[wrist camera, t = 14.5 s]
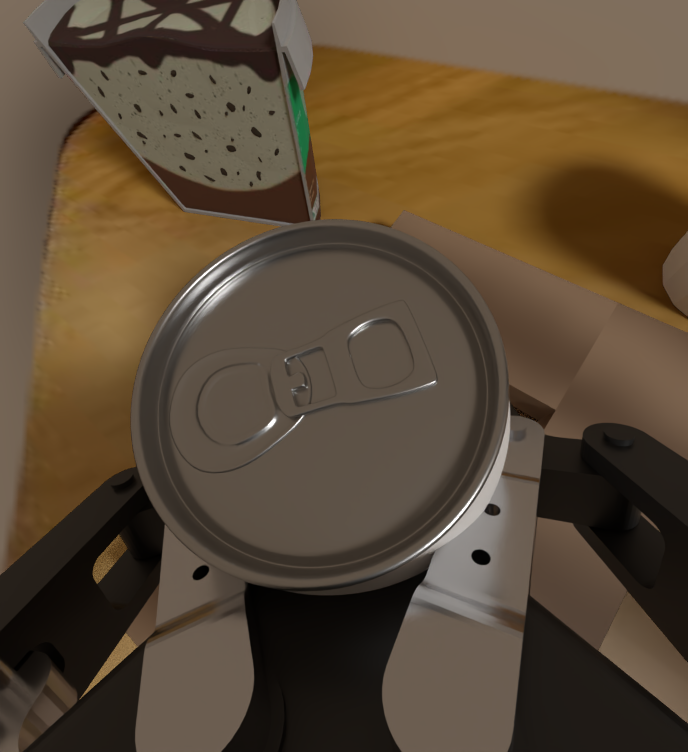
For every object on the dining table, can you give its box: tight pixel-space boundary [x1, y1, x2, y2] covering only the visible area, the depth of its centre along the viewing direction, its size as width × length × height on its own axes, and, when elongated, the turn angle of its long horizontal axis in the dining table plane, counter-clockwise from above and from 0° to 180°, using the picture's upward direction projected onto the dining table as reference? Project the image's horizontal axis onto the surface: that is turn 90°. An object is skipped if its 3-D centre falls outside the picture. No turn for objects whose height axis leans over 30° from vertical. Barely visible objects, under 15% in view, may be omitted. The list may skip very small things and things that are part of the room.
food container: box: [23, 0, 321, 227], centre depth 19 cm, size 12×6×10 cm, turn 73°
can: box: [131, 219, 510, 595], centre depth 11 cm, size 6×6×12 cm
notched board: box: [126, 210, 688, 650], centre depth 15 cm, size 22×15×2 cm
